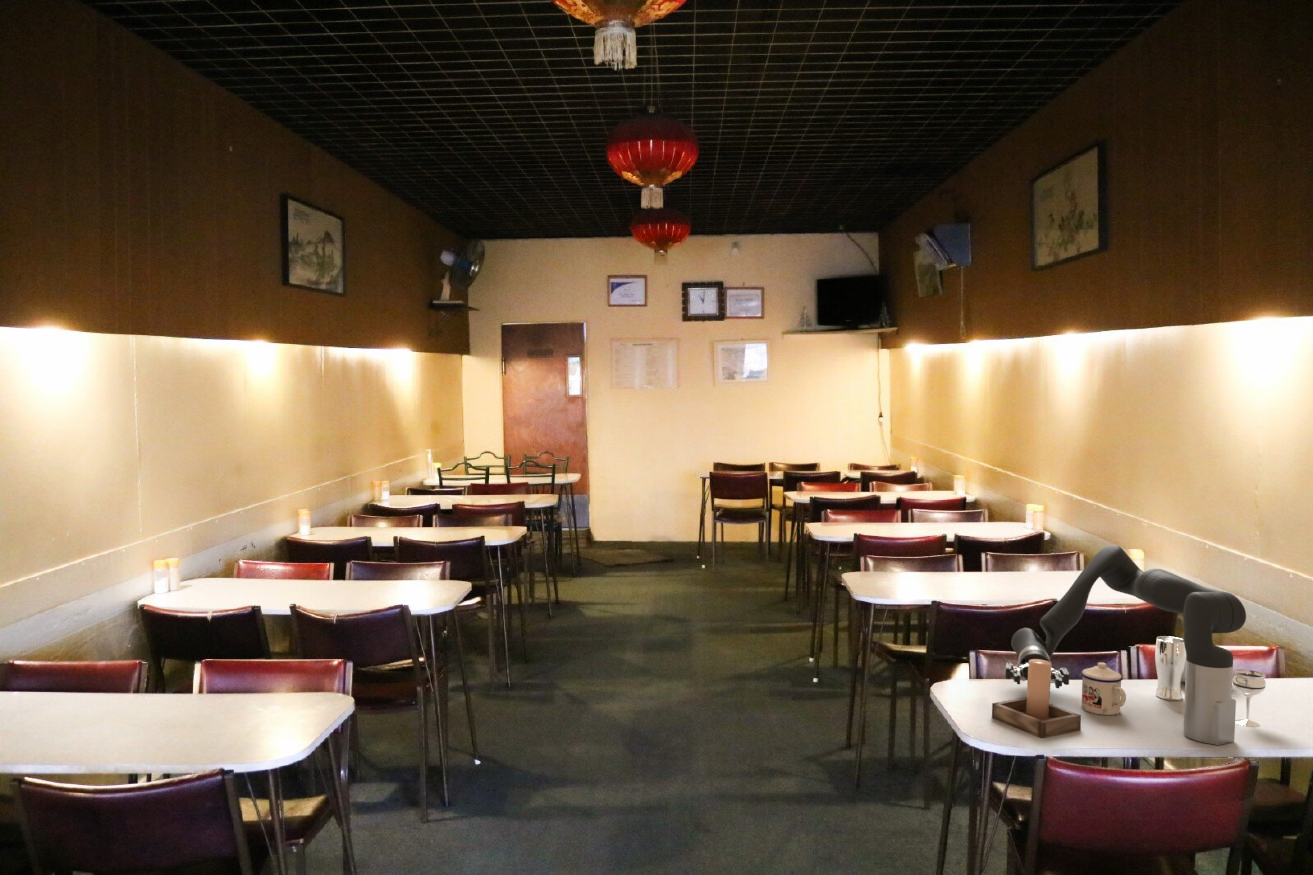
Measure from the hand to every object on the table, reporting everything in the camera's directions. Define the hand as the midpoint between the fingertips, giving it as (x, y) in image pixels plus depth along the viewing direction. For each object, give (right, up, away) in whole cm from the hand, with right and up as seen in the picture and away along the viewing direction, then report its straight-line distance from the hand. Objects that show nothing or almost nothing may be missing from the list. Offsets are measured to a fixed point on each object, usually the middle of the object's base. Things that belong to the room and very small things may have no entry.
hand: (1038, 682), depth 226 cm
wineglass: (+51, -11, +2) cm, 52 cm away
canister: (0, -9, +1) cm, 9 cm away
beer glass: (+42, -10, +21) cm, 48 cm away
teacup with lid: (+20, -10, +10) cm, 24 cm away
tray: (0, -10, 0) cm, 10 cm away
